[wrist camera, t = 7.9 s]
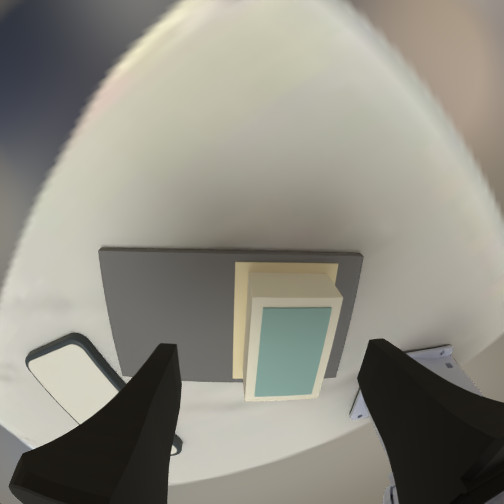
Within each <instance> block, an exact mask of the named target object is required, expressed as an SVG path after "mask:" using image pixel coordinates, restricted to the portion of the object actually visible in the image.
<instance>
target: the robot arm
mask: <svg viewBox="0 0 504 504" xmlns="http://www.w3.org/2000/svg"><path fill="white" fill-rule="evenodd" d="M452 351H453V347H452V346H451V345H448V346H443V347H438V348H433V349H427V350H421V351H415V352H408V353H404V352H403V351H401V350H400V349H399V348H397V347H396V346H394V345H393V344H391V343H390V342H388V341H386V340H385V339H383V338H382V339H372V340H369V343H368V346H367V350H366V353H365V356H364V359H363V362H362V365H361V369H360V372H359V374H358V377H357V379H358V383H359V386H360V390H359V393H358V396H357V398H356V401H355V403H354V406H353V408H352V411H351V413H350V418H351V419H352V420H356V419H362V418H367V417H370V420H371V422H372V424H373V426H374V428H375V431H376V433H377V435H378V437H379V439H380V442H381V444H382V446H383V448H384V451H385V453H386V455H387V458H388V460H389V462H390V464H391V468H392V473H391V474H389V475H388V478H389V481H390V483H391V485H389V486H388V487H387V488H386V489H385V492H384V497H383V501H382V504H504V403H503V402H499V401H495V400H492V399H489V398H485V397H483V396H482V394H481V392H480V390H479V389H478V388H477V386H476V385H475V384H474V383H473V381H472V380H471V379H470V378H469V377H468V375H467V374H466V373H465V372H464V371H463V370H462V368H461V367H460V366H459V365H458V364H457V362H456V361H455V360H454V359H453V358H452V357H451V354H452ZM181 387H182V383H181V375H180V367H179V358H178V349H177V344H169V343H160V344H159V345H158V346H157V347H156V348H155V350H154V351H153V352H152V354H151V355H150V356H149V358H148V359H147V360H146V362H145V363H144V364H143V365H142V367H141V368H140V369H139V370H138V371H137V373H136V374H135V375H134V376H133V377H132V379H131V380H130V381H129V382H128V383H127V384H126V385H125V386H124V387H123V388H122V389H121V390H120V391H119V392H118V393H117V394H116V395H115V396H114V397H113V398H112V399H111V400H110V401H109V402H108V403H107V404H106V405H105V406H104V407H102V408H101V409H100V410H99V411H98V412H96V413H95V414H94V415H93V416H91V417H90V418H89V419H87V420H86V421H85V422H83V423H82V424H80V425H79V426H77V427H76V428H74V429H73V430H71V431H69V432H68V433H66V434H64V435H63V436H61V437H59V438H57V439H55V440H53V441H51V442H49V443H47V444H45V445H43V446H40V447H38V448H36V449H33V450H31V451H28V452H26V453H23V454H22V456H21V458H20V460H19V462H18V464H17V466H16V469H15V471H14V474H13V476H12V479H11V481H10V484H9V488H10V490H11V492H12V494H14V496H15V497H16V498H17V499H19V500H20V501H21V502H22V503H23V504H167V493H168V473H169V462H170V455H171V450H172V445H173V440H174V435H175V430H176V425H177V420H178V415H179V409H180V400H181ZM0 504H1V503H0Z"/></svg>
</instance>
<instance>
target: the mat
mask: <svg viewBox="0 0 504 504" xmlns="http://www.w3.org/2000/svg"><path fill="white" fill-rule="evenodd" d="M98 253H99V260H100V268H101V275H102V281H103V287H104V293H105V299H106V305H107V310H108V315H109V320H110V325H111V330H112V334H113V339H114V343H115V347H116V351H117V356H118V360H119V363H120V367H121V371H122V375H123V376H129V377H133V376H134V375H135V374H136V373H137V371H138V370H139V369H140V368H141V367H142V365H143V364H144V363H145V362H146V360H147V359H148V358H149V356H150V355H151V354H152V352H153V351H154V350H155V348H156V347H157V346H158V345H159V344H160V343H169V344H177V349H178V358H179V367H180V375H181V381H198V382H243V372H242V368H243V352H244V335H245V319H246V303H247V287H248V272H268V273H320V274H327V275H328V276H329V278H330V279H331V280H332V282H333V283H334V285H335V286H336V288H337V289H338V291H339V292H340V293H341V295H342V296H343V301H342V306H341V310H340V315H339V319H338V323H337V328H336V332H335V336H334V340H333V344H332V348H331V352H330V356H329V360H328V364H327V367H326V371H325V375H324V378H333V377H336V373H337V370H338V366H339V363H340V359H341V355H342V351H343V348H344V344H345V340H346V336H347V332H348V328H349V324H350V319H351V315H352V311H353V306H354V302H355V297H356V292H357V288H358V283H359V278H360V273H361V267H362V262H363V255H362V254H360V253H334V252H288V251H240V250H192V249H142V248H101V249H100V250H99V251H98Z"/></svg>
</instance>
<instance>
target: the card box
mask: <svg viewBox="0 0 504 504" xmlns="http://www.w3.org/2000/svg"><path fill="white" fill-rule="evenodd" d="M342 301H343V296H342V295H341V293H340V292H339V291H338V289H337V288H336V286H335V285H334V283H333V282H332V280H331V279H330V278H329V276H328V275H327V274H320V273H268V272H248V287H247V303H246V319H245V335H244V352H243V368H242V372H243V385H244V397H245V401H280V400H298V399H312V398H318V396H319V392H320V389H321V385H322V382H323V378H324V375H325V371H326V367H327V364H328V360H329V356H330V352H331V348H332V344H333V340H334V336H335V332H336V328H337V323H338V319H339V315H340V310H341V306H342Z"/></svg>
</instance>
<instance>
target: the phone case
mask: <svg viewBox="0 0 504 504" xmlns="http://www.w3.org/2000/svg"><path fill="white" fill-rule="evenodd" d="M25 362H26V366H27V368H28V369H29V371H30V372H31V373H32V374H33V375H34V377H35V378H36V379H37V380H38V381H39V383H40V384H41V385H42V386H43V387H44V388H45V389H46V391H47V392H48V393H49V394H50V395H51V396H52V397H53V398H54V399H55V400H56V402H57V403H58V404H59V405H60V406H61V407H62V408H63V409H64V410H65V411H66V412H67V413H68V414H69V415H70V416H71V417H72V418H73V419H74V420H75V421H76V422H77V423H78V424H79V425H80V424H82V423H83V422H85V421H86V420H87V419H89V418H90V417H91V416H93V415H94V414H95V413H96V412H98V411H99V410H100V409H101V408H102V407H104V406H105V405H106V404H107V403H108V402H109V401H110V400H111V399H112V398H113V397H114V396H115V395H116V394H117V393H118V392H119V391H120V390H121V389H122V388H123V387H124V386H125V385H126V384H125V382H124V381H123V380H122V379H121V378H120V377H119V376H118V374H117V373H116V372H115V371H114V370H113V369H112V367H111V366H110V365H109V364H108V363H107V362H106V360H105V359H104V358H103V357H102V355H101V354H100V353H99V352H98V350H97V349H96V348H95V347H94V345H93V344H92V343H91V342H90V340H89V339H88V338H86V337H85V336H83V335H81V334H79V333H71V334H69V335H66V336H64V337H62V338H60V339H58V340H55V341H53V342H51V343H49V344H47V345H44V346H42V347H40V348H38V349H36V350H33V351H31V352H30V353H29V354H28V356H27V357H26V360H25ZM181 450H182V441H181V439H180V438H179V437H178V436H176V435H174V440H173V445H172V450H171V455H170V456H173V455H177V454H179V453H180V452H181Z"/></svg>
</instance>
